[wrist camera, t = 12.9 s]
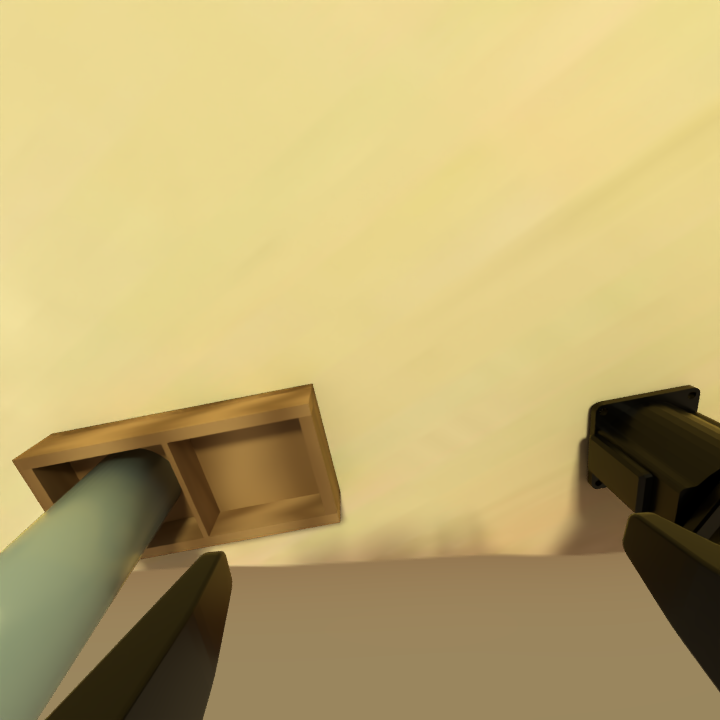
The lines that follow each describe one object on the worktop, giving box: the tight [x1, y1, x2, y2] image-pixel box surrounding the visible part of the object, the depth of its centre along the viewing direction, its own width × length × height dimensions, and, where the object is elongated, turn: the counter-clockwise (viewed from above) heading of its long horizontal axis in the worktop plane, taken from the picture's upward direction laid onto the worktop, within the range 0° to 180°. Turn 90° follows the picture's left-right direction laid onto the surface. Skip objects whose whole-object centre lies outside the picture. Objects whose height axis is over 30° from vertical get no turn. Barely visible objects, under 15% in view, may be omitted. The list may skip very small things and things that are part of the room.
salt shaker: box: [0, 448, 182, 720], centre depth 15 cm, size 5×5×13 cm
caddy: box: [12, 384, 340, 559], centre depth 20 cm, size 16×8×3 cm, turn 101°
